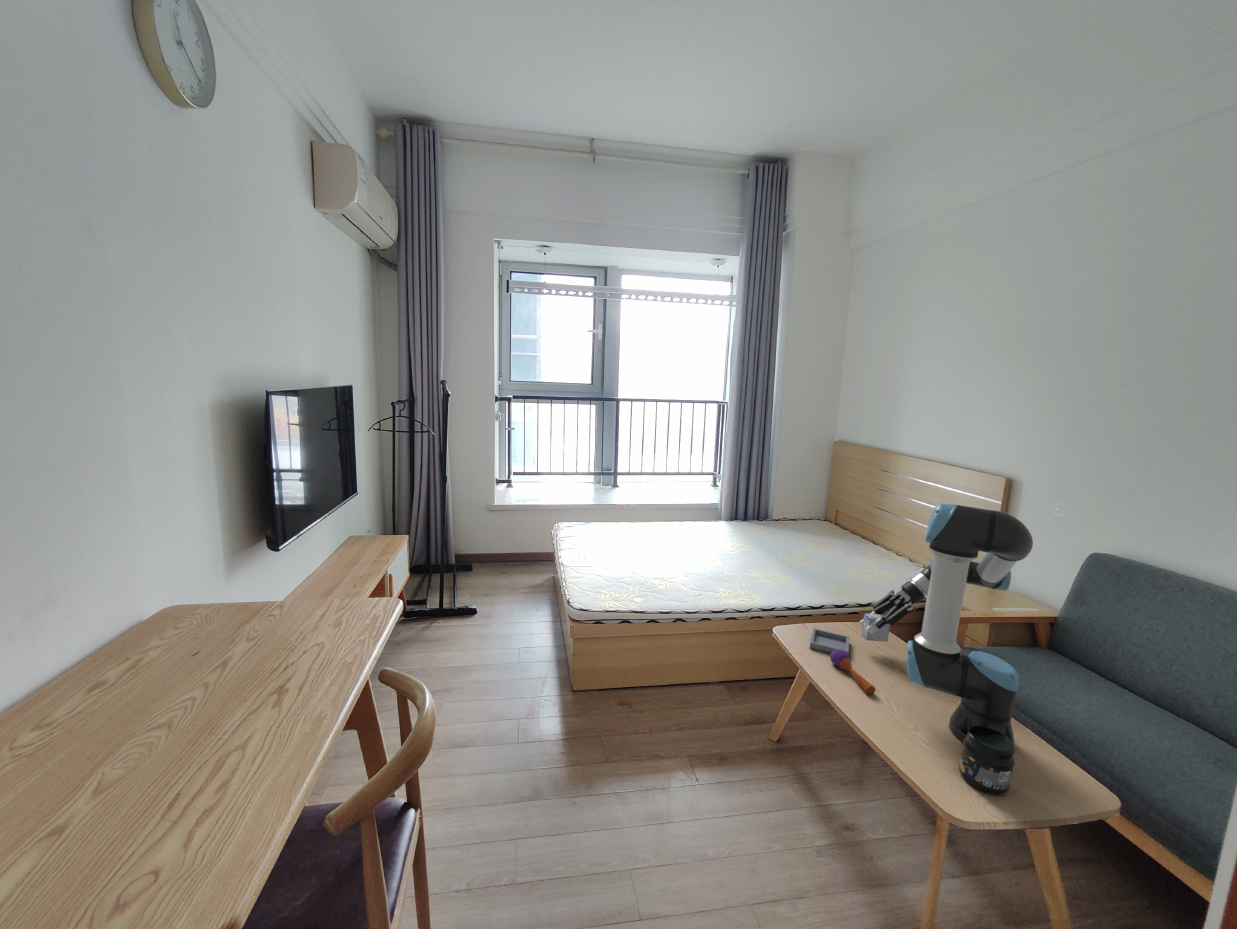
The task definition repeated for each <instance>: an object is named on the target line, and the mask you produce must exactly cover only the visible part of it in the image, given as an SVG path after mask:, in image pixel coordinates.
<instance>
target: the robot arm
mask: <svg viewBox="0 0 1237 929" xmlns="http://www.w3.org/2000/svg"><path fill="white" fill-rule="evenodd" d="M924 541H925V542H927V543H929V546H928V550H930V552H932V554H933V558H932V559H931V560H930V564H929V565H928V566H926V567H925V568H924V569H922V570H921V571H920V572H917V574H915V575H913V577H911V578H910V580H908V581H906V582H905V583H904V584H902V585H901V590H899V591H897V592H895V591H894V590H890V592H888V593H887V595H885V596H884V597H882V598H881V599H880V600H879V601H877V602H876V603H874V605H872V611H871V612H870V613H869V614H879V615H883V614H884V613H886V612H887V613H886V614H884V615H885V616H884V617H882V616H881V617H880V618H879V619H877V620H876V621H875V622H873V623H872V624H871V625H869V626H868V627H867V628H866V629H867V630H868V632H869V633H870V634H873V633H874V632H875V631H877V630H878V629H880V628H881V627H883V626H884V625H885V624H890V626H893V625H895V624H896V623H897V622H899V621H900V620H901V619H903V618H904V617H905V616H907V615H908V614H910V613H912V612H915V610H916V609H915V608H914V607H913V605H914V604H919V603H920V602H922V601H923V600H924V599H926V602H925V608H924V614H923V621H922V627H921V631H920V632H919V633H917V634H915V635H914V636H913V639H912V640H908V641H907V656H906V657H907V658H906V662H907V665H906V672H907V673H906V676H907V678H908V680H909V681H910V682H911V683H912V684H916V685H919V686H921V687H923V688H928V689H931V690H935V691H938V692H942V693H945V694H948V695H951V696H955V697H957V698H961V700H960V703H959V704H958V706H957V707H956V709H955V710H954V712H952V714H951V716H950V717H949V722H948V728H949V730H950V732H951V734H952V735H953V736H954V737H955V738H957V739H958V740H959V741H961V742H962V743H963V742H964V739H965V738H966V737H967V734H968V730H969V728H970V727H973V726H983V727H987V728H990V729H993V730H996V731H998V732H1000V733H1002V734H1003V735H1005V736H1006V737H1008V738H1009V739H1010V740H1011V741H1012V742H1013V744H1014V745H1015V737H1014V732H1013V726H1012V716H1013V712H1014V711H1013V710H1014V706H1015V702H1016V697H1017V692H1018V691H1019V682H1020V681H1019V680H1020V676H1019V673H1018V671H1017V670H1016V669H1015V668H1014V666H1012V665H1011V664H1010V663H1009V662H1007V661H1005V660H1003V659H1001V658H1000V657H998V656H996V655H993V654H991V653H988V652H985V651H979V650H978V651H977V650H973V651H971V652H970V653H969V654H968V655H965V654H961V653H962V649H961V646H960V645H959V644H958V643H957V636H958V630H959V624H960V618H961V613H962V608H963V603H964V598H965V592H966V591H965V590H966V585H967V584H969V585H974V586H978V587H983V588H987V589H992V590H999V591H1004V592H1005V591H1007V590H1009V588H1010V586H1011V579H1012V572H1011V570H1012V569H1013V567H1014V566H1015V564H1017V562H1018V561H1019V562H1020V561H1022V560H1024V559H1026V557H1028V555H1029V554H1030V553H1031V551H1032V550H1033V546H1034V540H1033V536H1032V534H1031V532H1030V530H1029V528H1027V526H1026V525H1025V524H1024V523H1023V522H1022V521H1020V520H1019V519H1018V518H1016V517H1015V516H1013V515H1011V514H1008V513H1007V512H1003V511H1000V510H991V509H986V508H980V507H979V508H978V507H973V506H966V505H960V504H955V503H953V504H951V503H938V504H936V505H935V507H934V508H933V511H932V513H931V515H930V519H929V521H928V524H927V529H926V531H925V535H924ZM979 552H983V553H984V554H983V556H982V557H981V559H980V561H978V562H976V561H974V560H976V559H978V557H979V556H978V555H979ZM863 619H864V618H863ZM863 619H861V620H859V623H860V625H861V626H863Z"/></svg>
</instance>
